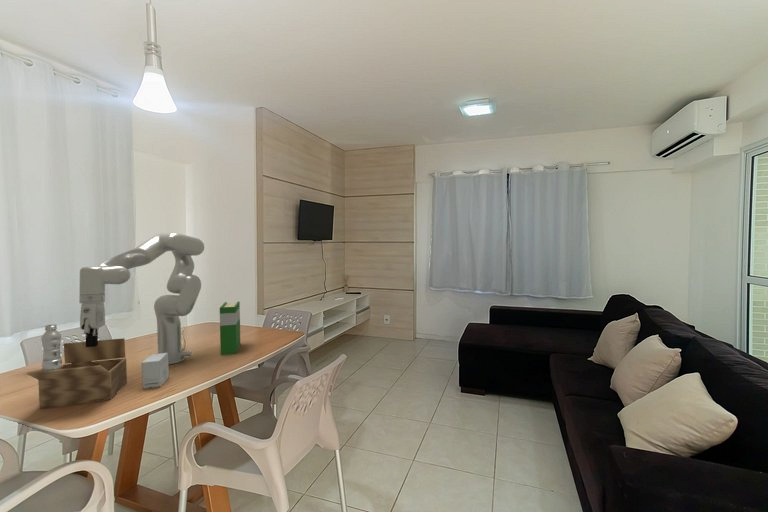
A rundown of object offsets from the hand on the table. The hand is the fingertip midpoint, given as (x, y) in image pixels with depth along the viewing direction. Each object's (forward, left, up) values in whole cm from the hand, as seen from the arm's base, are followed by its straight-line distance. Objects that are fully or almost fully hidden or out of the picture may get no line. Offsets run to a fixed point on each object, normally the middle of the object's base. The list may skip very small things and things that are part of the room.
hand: (91, 346), depth 132 cm
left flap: (0, +17, -4) cm, 18 cm away
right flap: (0, -2, -2) cm, 3 cm away
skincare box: (-21, +2, -17) cm, 27 cm away
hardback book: (-46, -35, -17) cm, 61 cm away
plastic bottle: (+27, -32, -17) cm, 45 cm away
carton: (0, +6, -17) cm, 18 cm away
